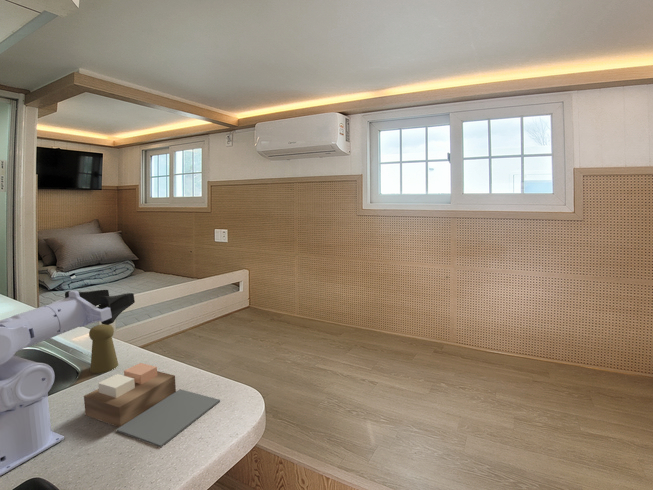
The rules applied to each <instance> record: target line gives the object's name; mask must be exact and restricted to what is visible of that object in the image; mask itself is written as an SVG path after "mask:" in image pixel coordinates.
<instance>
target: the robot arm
mask: <svg viewBox="0 0 653 490" xmlns="http://www.w3.org/2000/svg"><path fill="white" fill-rule="evenodd" d="M135 302H136V301H135V294H134V293H132V292H127V293H122V294H118V295H110V293H109V289H97V290H90V291H77V290H67V291H65V293H64V298H63V299H59V300H58V299H57V300H56V301H53V302H51V303H50V304H47V305H43V306H39V307H36V308H33V309H31V310H27V311H23V312H21V313H18V314H14V315H12V316H9V317H7V318H3V319H1V320H0V477H1V476H3V475H4V474H6V473H8V472H10V471H11V470H13V469H15V468H17V467H18V466H20V465H21V464H23V463H25V462H27V461H29V460H30V459H32V458H34V457H35V456H38V455H40V453H42V452H44V451H46V450H47V449H50V448H51V447H53V446H55V445H57V444H58V443H60V442H62V441H63V440H64V439H65V436H64V435H62V434H60V433H57V432H55V431H53V430H52V425H51V424H52V423H51V414H50V404H49V394H48V392H49V391H50V390H51V389H52V387H53V384H54V382H55V379H56V378H55V377H56V376H55V371H54V369H53V367H52V366H50V365H49V364H48V363H44V362H37V361H34V360H30V359H26V358H23V357H22V356H21V357H20V356H19V355H16V353H17V352H19V351H21V350H23V349H26V348H30V347H31V346H34V345H36V344H37V345H38V344H39V343H42V342H44V341H47V340H50V339H53V338H54V337H57V336H59V335H62V334H65V333H67V332H70V331H72V330H75V329H77V328H83V327H85V326H89V325H91V324H93V323H94V324H95V323H97V322H101V324H105V325H111V324H113V323H114V322H115V320H116V319H117V318H118V316H119V315H120V314H121V313H122V312H124V311H125V310H126V309H128V308H130V306H132V305H134V303H135Z"/></svg>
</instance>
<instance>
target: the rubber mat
mask: <svg viewBox="0 0 653 490" xmlns="http://www.w3.org/2000/svg"><path fill="white" fill-rule="evenodd" d="M220 402H221V399H219V398H215V397H211V396H207V395H203V394H200V393H196V392H192V391H188V390H185V389H182V388H180V389H177V390H176V392H175V393H173V394H172V395H170V396H168V397H167V398H165V399H164V400H162V401H160V402H159V403H157V404H156V405H154V406H153V407H151V408H149V409H148V410H146V411H145V412H143V413H141V414H140V415H138V416H137V417H135V418H134V419H132V420H130V421H129V422H127V423H126V424H124V425H122V426H121V427H117V428H116V430H115V431H116V432H118V433H121V434H124V435H126V436H128V437H131V438H134V439H137V440H138V441H141V442H145V443H148V444H150V445H153V446H155V447H158V448H163V447H164V446H165V445H167V444H168V443H169V442H170V441H172V440H173V439H174V438H176V437H177V436H178V435H179V434H181V433H182V432H184V430H186V429H187V428H188V427H189V426H191V425H192V424H193V423H194V422H196V421H198V419H200V418H201V417H202V416H204V415H205V414H206V413H208V412H209V411H210V410H211V409H213V408H214V407H215V406H217V405H218V404H219V403H220Z"/></svg>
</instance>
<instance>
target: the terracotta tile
mask: <svg viewBox="0 0 653 490" xmlns="http://www.w3.org/2000/svg"><path fill="white" fill-rule="evenodd" d="M157 371H158V367H157V366H156V365H152V364H151V365H150V364H146V363H143V362H140V363H136V364H135V365H133V366H131V367H129V368H126V369H124V370H123V376H127V377H130V378H134V382H135V383H138V384H143V383H145V382H147V381H148V380H150V379H152V378H154V377H156V376H157Z"/></svg>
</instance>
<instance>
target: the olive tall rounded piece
mask: <svg viewBox="0 0 653 490" xmlns="http://www.w3.org/2000/svg"><path fill="white" fill-rule="evenodd" d="M114 332H115V328H114V327H113V325H111V324H109V325H105V324H102V323H101V324H97V325H93V327H91V328H90V330H89V332H88V333H89V335H88V337H89V339H90V340H91V341H92V342H91V355H90V373H92V374H104V373H107V372H111V371H113V370H115V369H117V368H118V367H117V366H119V362H118V357H117V353H116V347H115V346H114V341H113V336H114ZM116 367H117V368H116ZM114 368H115V369H114ZM112 369H113V370H112Z"/></svg>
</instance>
